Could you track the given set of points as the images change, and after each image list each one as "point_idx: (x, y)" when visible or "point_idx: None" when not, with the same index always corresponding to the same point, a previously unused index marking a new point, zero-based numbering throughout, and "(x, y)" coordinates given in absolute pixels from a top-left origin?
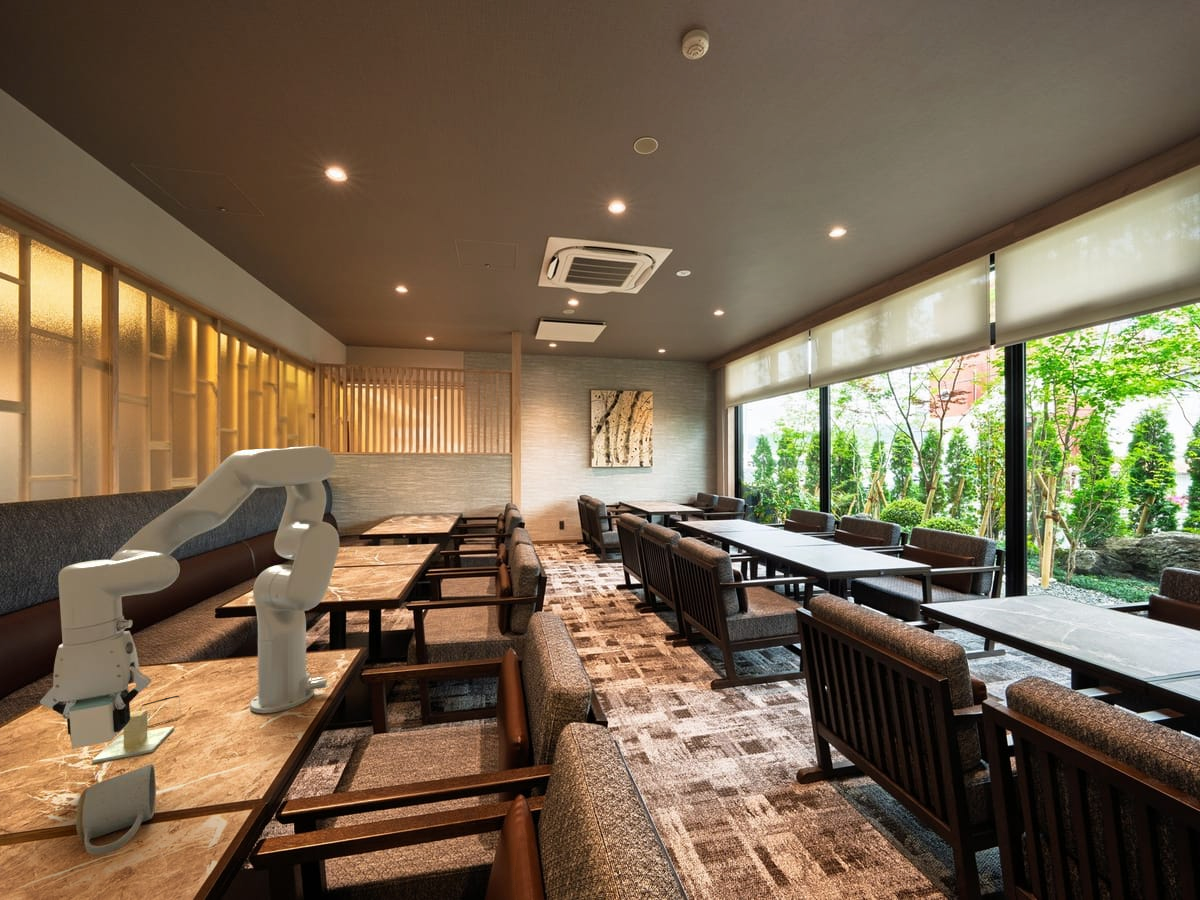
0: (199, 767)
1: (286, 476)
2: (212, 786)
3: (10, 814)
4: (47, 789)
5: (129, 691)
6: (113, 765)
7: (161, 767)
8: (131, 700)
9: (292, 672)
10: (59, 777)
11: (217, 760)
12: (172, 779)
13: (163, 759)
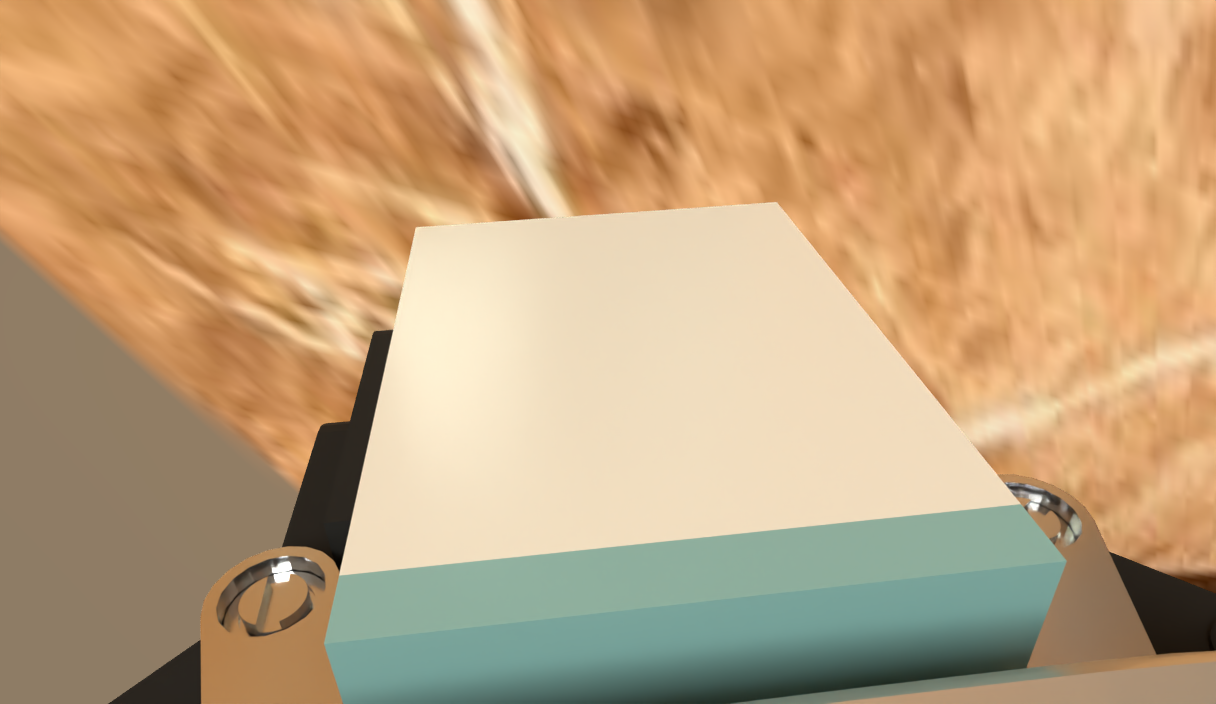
0: (1113, 259)
1: None
2: (1172, 456)
3: (257, 450)
4: (250, 235)
5: (1135, 627)
6: (536, 15)
7: (900, 180)
8: (1047, 503)
9: None
10: (191, 73)
11: (1203, 207)
12: (992, 344)
13: (883, 59)
